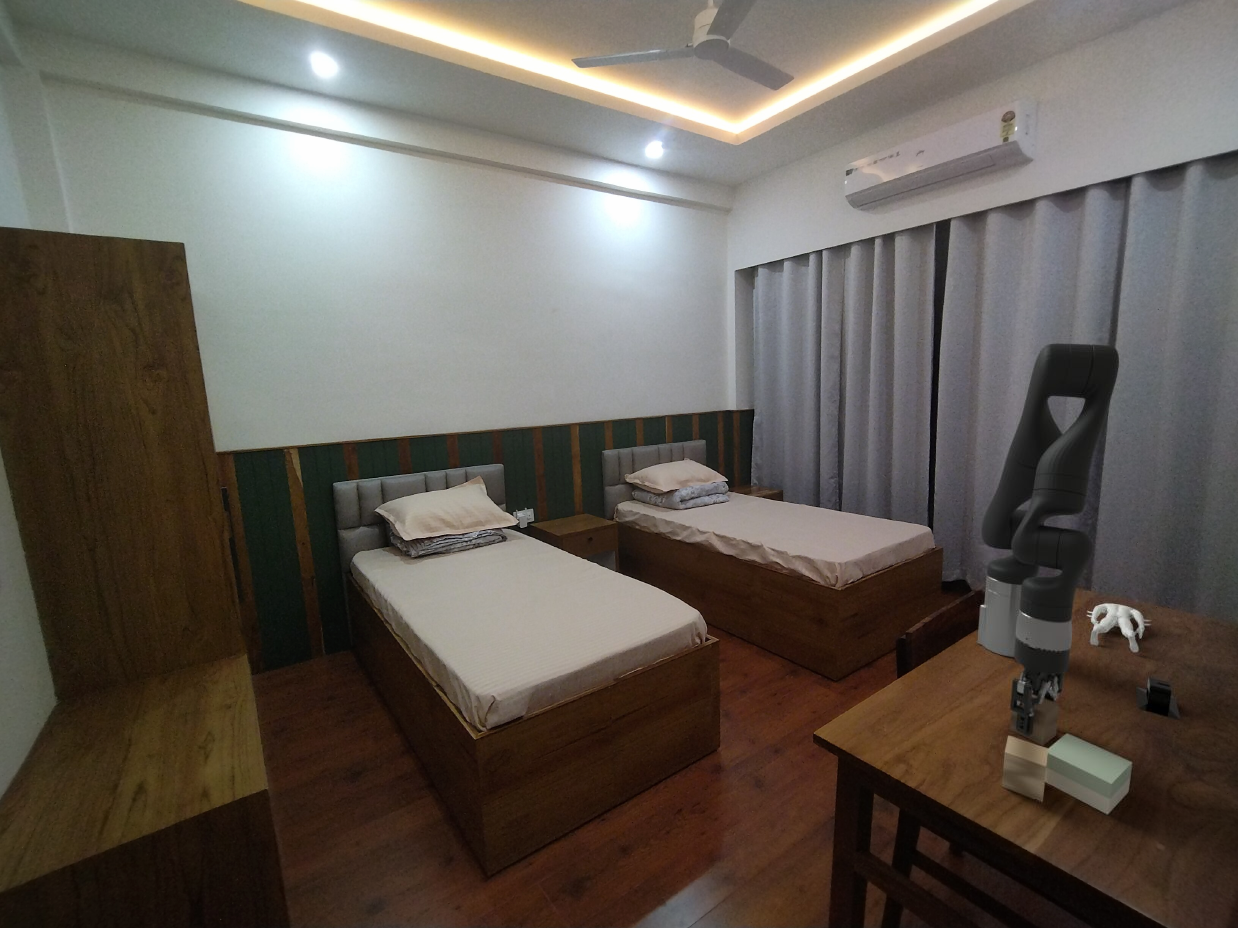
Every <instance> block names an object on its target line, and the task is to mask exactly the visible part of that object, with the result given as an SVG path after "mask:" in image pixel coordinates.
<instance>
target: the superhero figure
mask: <svg viewBox="0 0 1238 928" xmlns="http://www.w3.org/2000/svg"><path fill="white" fill-rule="evenodd" d="M1087 613H1088V614H1086V616H1087V617H1089V618H1090V621H1091V624H1093V625H1094V626H1093V630H1092V631H1091V633H1090V634H1091V635H1090V639H1089V641H1090V644H1091V646H1096V647H1097V646H1099V640H1098V637H1099V636H1098V635H1099V634H1104V633H1105V634H1106V633H1108V632H1109V631H1110V630H1111V629H1112V628H1113V627H1114V626H1115V627H1119V628H1120V630H1121V633H1122V635H1123V636H1124V637H1125V638H1127V639H1128V641H1129V648H1130V651H1131V652H1133V653H1137V652H1139V645H1138V643H1137V641H1136V637H1135V636H1136V635H1137V634H1138V639H1142V637H1143V633H1144V630H1145V626H1151V625H1152V624H1151V623H1150V624H1149V623H1145V622H1150V621H1152V620H1151V619H1144V615H1142V613H1141V612H1140V611H1139V610H1137V609H1135V608H1133V607H1130V606H1126V605H1122V604H1116V603H1103V604H1098V605H1096V606H1094V609H1093V611H1088V610H1087ZM1089 614H1091V615H1089ZM1101 614H1106V616H1105V617H1104V618H1102V619H1101V620H1100V621H1098V620H1097V619H1098V617H1099V616H1100V615H1101ZM1131 619H1135V621H1136V622H1137V624H1138V628H1136V630H1135V631H1134V626H1133V623H1132V621H1131Z"/></svg>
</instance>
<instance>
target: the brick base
mask: <svg viewBox="0 0 1238 928" xmlns="http://www.w3.org/2000/svg"><path fill="white" fill-rule="evenodd" d="M1047 748H1048V747H1047ZM1132 768H1133V761H1130V760H1128V759H1126V758H1123V757H1121V756H1119V755H1117V754H1114V753H1113V752H1110V751H1108V750H1105V749H1104V748H1102V747H1099V746H1096V745H1094V744H1092V743H1090V742H1088V741H1085V740H1084V739H1082V738H1079V737H1077V736H1075V735H1073V734H1069V733H1066V734H1064V735H1063V736H1061V737H1060V738H1059V739H1058V740H1056V742H1055V743H1053V744H1051V746H1049V748H1048V755H1047V765H1046V775H1045V783H1047V784H1048V785H1051V786H1052V787H1055V788H1057V789H1058V790H1059V791H1062V792H1063V793H1066V794H1067V795H1069V796H1071V797H1074V798H1076V799H1077V800H1079V801H1081V802H1083V803H1085V804H1087V805H1089V806H1090V807H1092V808H1094V809H1096V810H1098V811H1099V812H1102V813H1104V814H1106V815H1109V814H1110V813H1111V812H1112V811H1113V810H1114V808H1115V807H1116V806H1117V805H1118V804H1119V803H1120V802H1121V801H1122V799H1124V798H1125V796H1126V795H1127V794H1129V790H1130V782H1131V777H1132V776H1131V775H1132Z"/></svg>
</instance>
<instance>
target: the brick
mask: <svg viewBox="0 0 1238 928" xmlns="http://www.w3.org/2000/svg"><path fill="white" fill-rule="evenodd" d="M1006 740H1007V741H1006V744H1005V749H1004V756H1003V768H1002V781H1001V787H1003V788H1005V789H1006V790H1007V789H1008V790H1010V791H1012V792H1015V793H1018V794H1019V795H1022V796H1025V797H1028V798H1030V799H1033V800H1035V799H1037V800H1036V801H1038V800H1039V801H1038V802H1040V801H1041V803H1043V801H1044V794H1045V785H1046V784H1045V783H1046V782H1045V775H1046V765H1047V755H1048V747H1044V746H1043V745H1040V744H1039V745H1038V744H1037V743H1036V744H1035V743H1032V742H1029V741H1026V740H1024V739H1020V738H1017V737H1015V736H1012V735H1008V736H1007V739H1006Z"/></svg>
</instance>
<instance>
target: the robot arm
mask: <svg viewBox="0 0 1238 928" xmlns="http://www.w3.org/2000/svg"><path fill="white" fill-rule="evenodd" d="M1119 355H1120V354H1119V352H1118V350H1117V349H1116V347H1114V346H1113V345H1106V344H1088V343H1087V344H1086V343H1081V344H1080V343H1050V344H1047V345H1045V346H1044V347H1042V349H1041V350H1040V352H1039V353H1038V355H1037V356H1036V359H1035V362H1034V365H1033V369H1032V373H1031V375H1030V376H1031V377H1030V380H1029V385H1028V388H1027V393H1026V398H1025V401H1024V406H1023V410H1022V413H1021V416H1020V419H1019V423H1018V425H1017V427H1016V430H1015V433H1014V436H1013V438H1012V441H1011V443H1010V446H1009V448H1008V452H1007V456H1006V458H1005V461H1004V466H1003V469H1002V472H1001V476H1000V479H999V482H998V485H997V487H996V490H995V493H994V495H993V497H992V499H991V501H990V503H989V505H988V507H987V509H986V512H985V514H984V516H983V520H982V524H981V538H982V540H983V543H984V544H985V545H986V546H987V547H989V548H992V549H997V550H998V549H999V550H1010V551H1012V554H1010V555H1009V556H1008V555H1007V556H1005V557H1002V558H997V559H994V560H991V561H990V562H989V563H988V564H987V567H986V579H985V580H986V583H985V594H984V603H983V604H981V605H980V607H979V619H978V630H977V631H978V633H977V634H978V635H977V644H979V645H982V647H984V648H985V649H987V650H988V651H990V652H993V653H995V654H998V655H1001V656H1005V657H1010V658H1014V659H1015V660H1016V662H1018V663H1019V664H1020V665H1021V666H1022V667H1023V670H1022V672H1021V674H1020V677H1019V678H1016V677H1014V678H1013V679H1012V684H1011V686H1012V687H1011V697H1010V711H1011V712H1012V711H1014V712H1016V713H1017V722H1016V729H1017V730H1018V731H1019V732H1021V733H1023V734H1026V735H1028V736H1030V735H1031V734H1032V733H1033V723H1034V715H1035V711H1036V708H1037V706H1038V705H1041V704H1042V702H1043V699H1044V698H1045V699H1047V700H1050V701H1052V702H1055V703H1056V700H1057V699H1058V694H1059V695H1061V694H1062V692H1063V686H1064V685H1063V684H1064V674H1065V673H1066V672H1067V671H1068V670H1069V665H1070V658H1071V657H1070V656H1071V645H1072V638H1073V637H1072V636H1073V626H1072V617H1073V608H1074V599H1075V594H1076V591H1077V589H1078V588H1077V587H1078V585H1079V582H1080V580H1081V578H1082V577H1083V574H1084V573H1085V570H1086V569H1087V568H1088V565H1089V564H1090V561H1091V559H1092V557H1093V554H1094V543H1093V540H1092V539H1091V537H1090V536H1089V535H1088V534H1087V533H1086V532H1084V531H1082V530H1078V529H1071V528H1065V527H1064V528H1063V527H1058V526H1057V527H1056V526H1052V525H1051V526H1050V525H1045V521H1047V519H1048V520H1049V518H1052V517H1058V516H1074V515H1079V514H1081V513H1082V512H1083V511H1084V509H1085V506H1086V502H1087V501H1086V500H1087V493H1088V487H1089V480H1090V472H1091V466H1092V462H1093V458H1094V455H1095V450H1096V447H1097V444H1098V441H1099V438H1100V436H1101V432H1102V429H1103V426H1104V424H1105V420H1106V416H1107V413H1108V410H1109V405H1110V403H1111V400H1112V396H1113V392H1114V391H1115V390H1114V389H1115V385H1116V382H1117V378H1118V373H1119V369H1120V368H1119V367H1120V356H1119ZM1051 397H1063V398H1077V399H1084V402H1083V407H1082V409H1081V411H1080V414H1079V415H1078V417H1077V418H1076V420H1075V421H1074V422H1073V423H1072V424H1071V425H1070V427H1069V428H1068V429H1067V430H1066V431H1064V432H1063V433H1062V431H1061V429H1060V427H1059V426H1058V425H1057V423H1056V421H1055V420H1054V417H1053V415H1052V413H1051V410H1050V406H1049V402H1048V401H1049V398H1051ZM1028 501H1030V502H1029V506H1028V508H1027V509H1019V507H1021V506H1022V505H1024V504H1025V503H1027V502H1028ZM1040 567H1042V568H1048V569H1052V570H1053V569H1054V570H1059V571H1061V572H1060V574H1058V575H1057V576H1056V575H1055V576H1038V575H1039V571H1040ZM1032 695H1035V696H1037V698H1033V697H1032ZM1031 702H1032V704H1031ZM1023 703H1024V706H1022V704H1023Z"/></svg>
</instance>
